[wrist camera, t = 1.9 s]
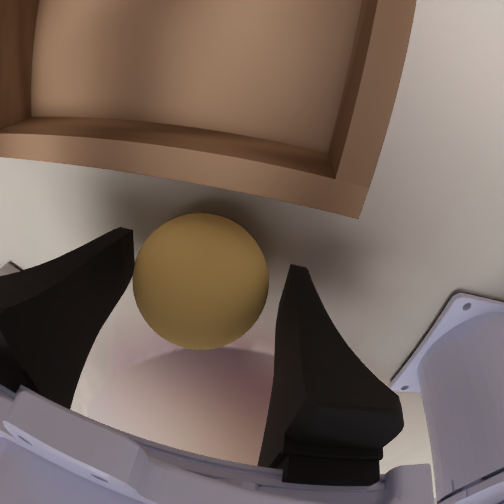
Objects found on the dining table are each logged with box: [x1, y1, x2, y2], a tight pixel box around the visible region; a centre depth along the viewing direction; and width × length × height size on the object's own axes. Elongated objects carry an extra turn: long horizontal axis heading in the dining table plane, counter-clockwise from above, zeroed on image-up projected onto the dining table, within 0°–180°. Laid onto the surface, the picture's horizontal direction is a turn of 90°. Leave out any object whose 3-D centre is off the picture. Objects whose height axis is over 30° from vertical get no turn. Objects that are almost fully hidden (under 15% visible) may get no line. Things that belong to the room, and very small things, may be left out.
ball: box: [133, 213, 269, 350], centre depth 12 cm, size 5×5×5 cm
